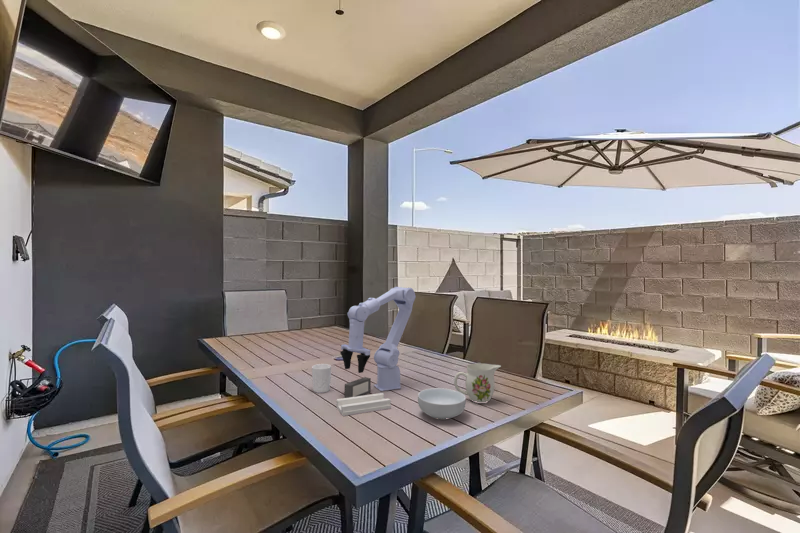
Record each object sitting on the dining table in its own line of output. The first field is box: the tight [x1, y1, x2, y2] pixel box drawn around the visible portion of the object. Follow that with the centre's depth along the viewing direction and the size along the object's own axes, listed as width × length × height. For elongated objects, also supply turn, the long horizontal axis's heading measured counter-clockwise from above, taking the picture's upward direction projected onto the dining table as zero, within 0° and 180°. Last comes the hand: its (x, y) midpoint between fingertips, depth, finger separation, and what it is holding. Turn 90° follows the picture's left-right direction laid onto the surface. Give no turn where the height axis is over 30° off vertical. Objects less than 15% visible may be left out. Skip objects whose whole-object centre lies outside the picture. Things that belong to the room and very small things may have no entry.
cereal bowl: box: [417, 387, 467, 420], centre depth 133 cm, size 17×17×7 cm
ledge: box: [335, 392, 392, 417], centre depth 139 cm, size 18×9×3 cm, turn 114°
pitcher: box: [453, 363, 502, 402], centre depth 147 cm, size 11×18×14 cm, turn 88°
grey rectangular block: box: [344, 376, 372, 398], centre depth 151 cm, size 12×3×6 cm, turn 144°
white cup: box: [311, 363, 332, 394], centre depth 158 cm, size 8×8×10 cm
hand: (353, 370), depth 151 cm, fingers open, 7 cm apart
